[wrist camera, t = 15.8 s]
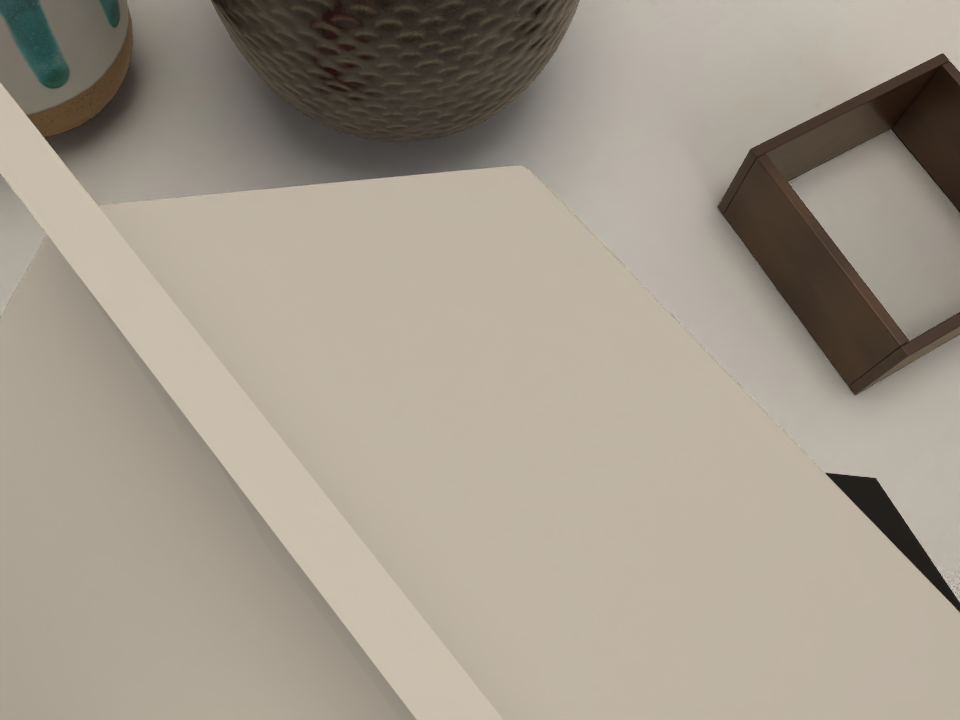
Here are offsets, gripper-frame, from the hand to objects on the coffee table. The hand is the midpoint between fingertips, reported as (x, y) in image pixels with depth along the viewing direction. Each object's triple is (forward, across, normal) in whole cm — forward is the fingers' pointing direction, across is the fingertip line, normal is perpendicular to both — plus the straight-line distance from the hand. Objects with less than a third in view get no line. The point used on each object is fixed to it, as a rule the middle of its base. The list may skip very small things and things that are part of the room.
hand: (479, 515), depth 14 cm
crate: (+31, +18, -4) cm, 37 cm away
